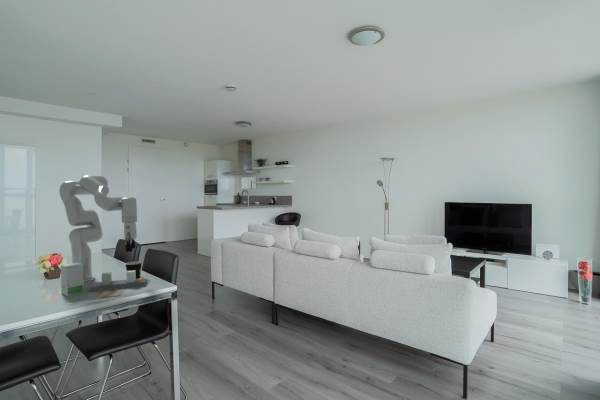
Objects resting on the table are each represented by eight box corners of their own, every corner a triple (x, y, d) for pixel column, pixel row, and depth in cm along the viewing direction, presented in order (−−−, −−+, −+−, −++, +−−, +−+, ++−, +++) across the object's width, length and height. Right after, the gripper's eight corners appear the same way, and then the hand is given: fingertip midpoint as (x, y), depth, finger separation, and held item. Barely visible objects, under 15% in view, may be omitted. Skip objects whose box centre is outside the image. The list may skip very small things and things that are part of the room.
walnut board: (95, 299, 157) (94, 298, 157) (100, 292, 168) (100, 291, 168) (120, 296, 161) (120, 295, 161) (124, 290, 171) (124, 289, 171)
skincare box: (66, 297, 161) (65, 266, 161) (60, 294, 165) (59, 265, 164) (84, 292, 168) (83, 263, 168) (78, 290, 172) (77, 261, 171)
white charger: (126, 286, 176) (126, 272, 176) (127, 284, 179) (127, 270, 179) (134, 285, 177) (134, 271, 177) (135, 284, 180) (135, 270, 180)
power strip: (90, 292, 168) (89, 285, 168) (94, 287, 176) (94, 281, 176) (144, 286, 177) (144, 280, 177) (146, 282, 184) (145, 276, 184)
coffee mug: (135, 281, 187) (134, 265, 187) (122, 281, 189) (122, 264, 188) (148, 276, 198) (148, 260, 198) (136, 275, 200) (136, 260, 200)
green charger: (102, 289, 172) (101, 274, 172) (103, 287, 175) (103, 272, 175) (110, 288, 173) (110, 273, 173) (111, 286, 177) (111, 272, 176)
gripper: (134, 220, 170) (135, 252, 171) (139, 218, 186) (140, 246, 187) (118, 221, 168) (119, 253, 168) (124, 218, 184) (125, 247, 185)
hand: (130, 250), depth 178 cm, fingers open, 9 cm apart
